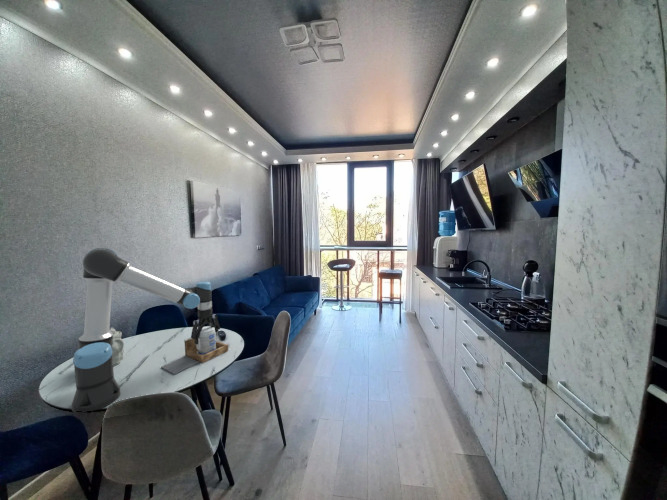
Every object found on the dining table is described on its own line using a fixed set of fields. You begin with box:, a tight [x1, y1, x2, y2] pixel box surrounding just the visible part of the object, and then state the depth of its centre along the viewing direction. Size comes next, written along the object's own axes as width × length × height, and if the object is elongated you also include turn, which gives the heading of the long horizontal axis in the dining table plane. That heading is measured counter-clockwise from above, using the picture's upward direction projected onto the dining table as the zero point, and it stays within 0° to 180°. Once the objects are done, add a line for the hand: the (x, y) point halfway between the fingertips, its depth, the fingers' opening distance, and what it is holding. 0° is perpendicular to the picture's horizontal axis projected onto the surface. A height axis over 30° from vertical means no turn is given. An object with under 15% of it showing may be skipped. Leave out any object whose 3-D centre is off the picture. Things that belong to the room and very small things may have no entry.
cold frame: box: [183, 336, 229, 364], centre depth 148 cm, size 16×17×10 cm
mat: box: [160, 356, 200, 376], centre depth 135 cm, size 13×13×1 cm
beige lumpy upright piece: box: [109, 327, 125, 367], centre depth 137 cm, size 16×15×19 cm
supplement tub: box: [197, 325, 217, 355], centre depth 148 cm, size 10×10×15 cm
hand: (206, 345), depth 148 cm, fingers closed on supplement tub, 9 cm apart
